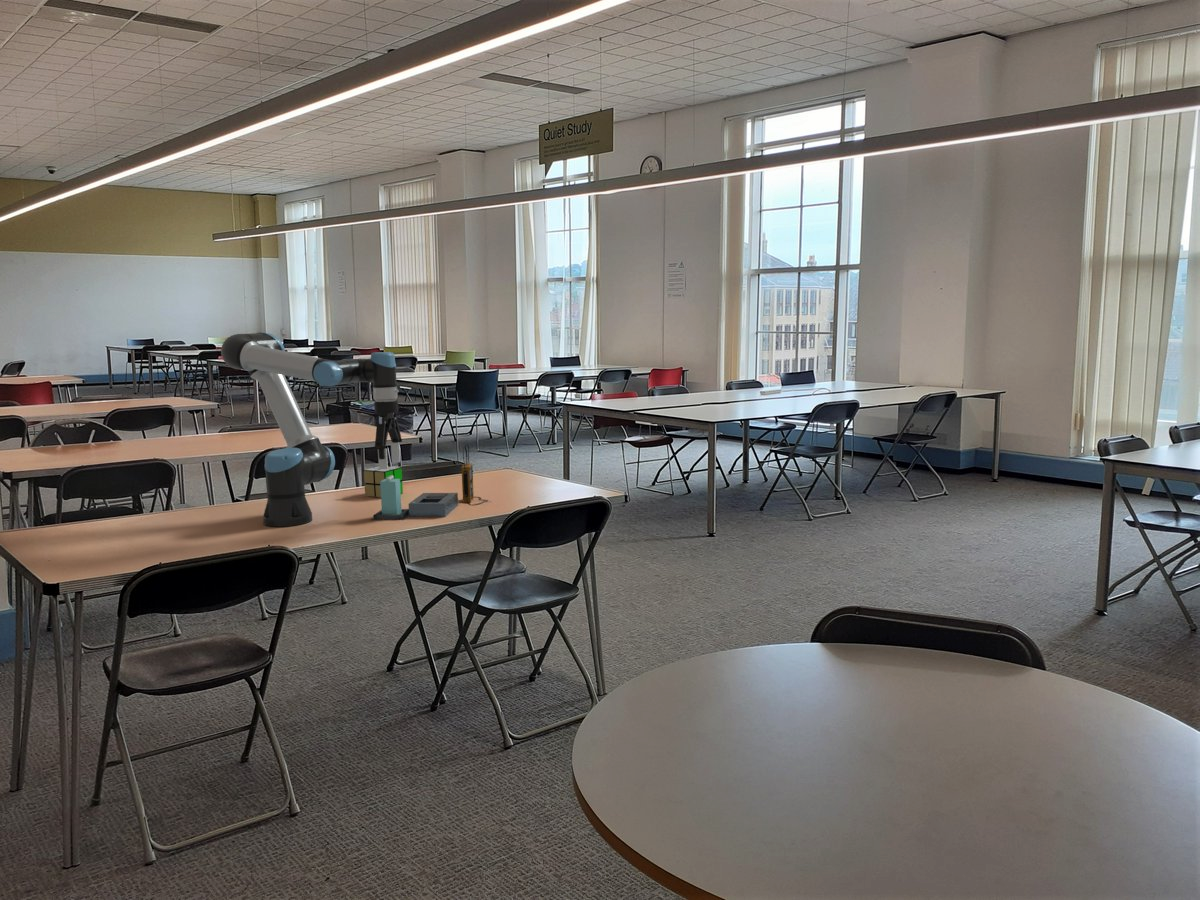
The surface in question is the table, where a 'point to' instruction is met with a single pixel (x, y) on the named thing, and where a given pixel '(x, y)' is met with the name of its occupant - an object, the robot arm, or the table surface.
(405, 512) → the dark grey rectangular tray
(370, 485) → the puzzle cube
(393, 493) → the light blue juice carton
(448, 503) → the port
